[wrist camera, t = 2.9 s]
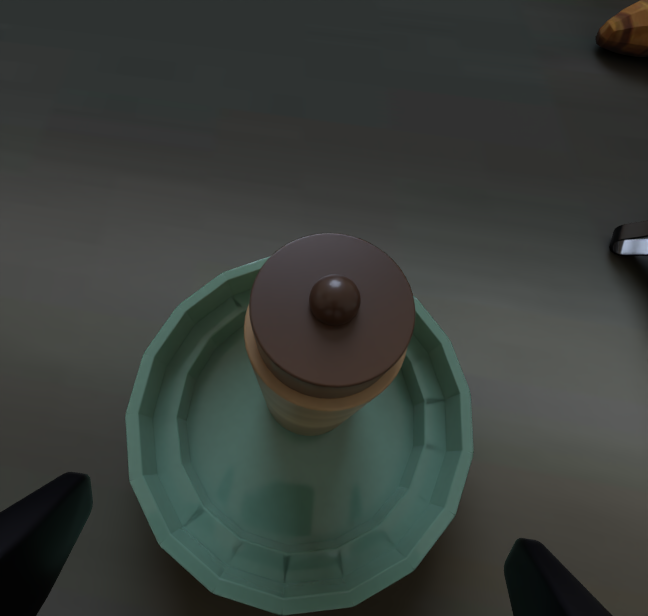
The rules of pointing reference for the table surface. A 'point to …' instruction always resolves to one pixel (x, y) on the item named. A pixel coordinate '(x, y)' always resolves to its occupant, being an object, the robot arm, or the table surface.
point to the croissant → (627, 31)
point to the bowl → (291, 464)
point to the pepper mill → (326, 329)
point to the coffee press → (630, 247)
